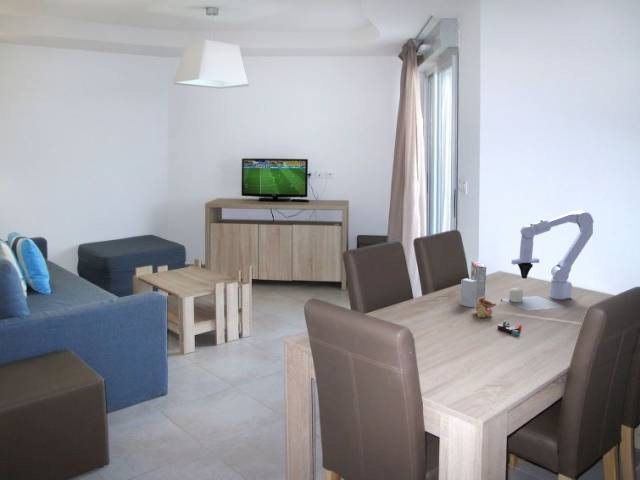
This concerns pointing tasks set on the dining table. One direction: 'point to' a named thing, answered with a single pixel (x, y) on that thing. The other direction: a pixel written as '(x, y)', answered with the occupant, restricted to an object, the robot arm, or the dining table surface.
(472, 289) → the skincare box
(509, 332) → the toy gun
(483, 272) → the candy bar box
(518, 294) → the knob
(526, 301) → the board
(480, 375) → the dining table surface
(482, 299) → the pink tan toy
